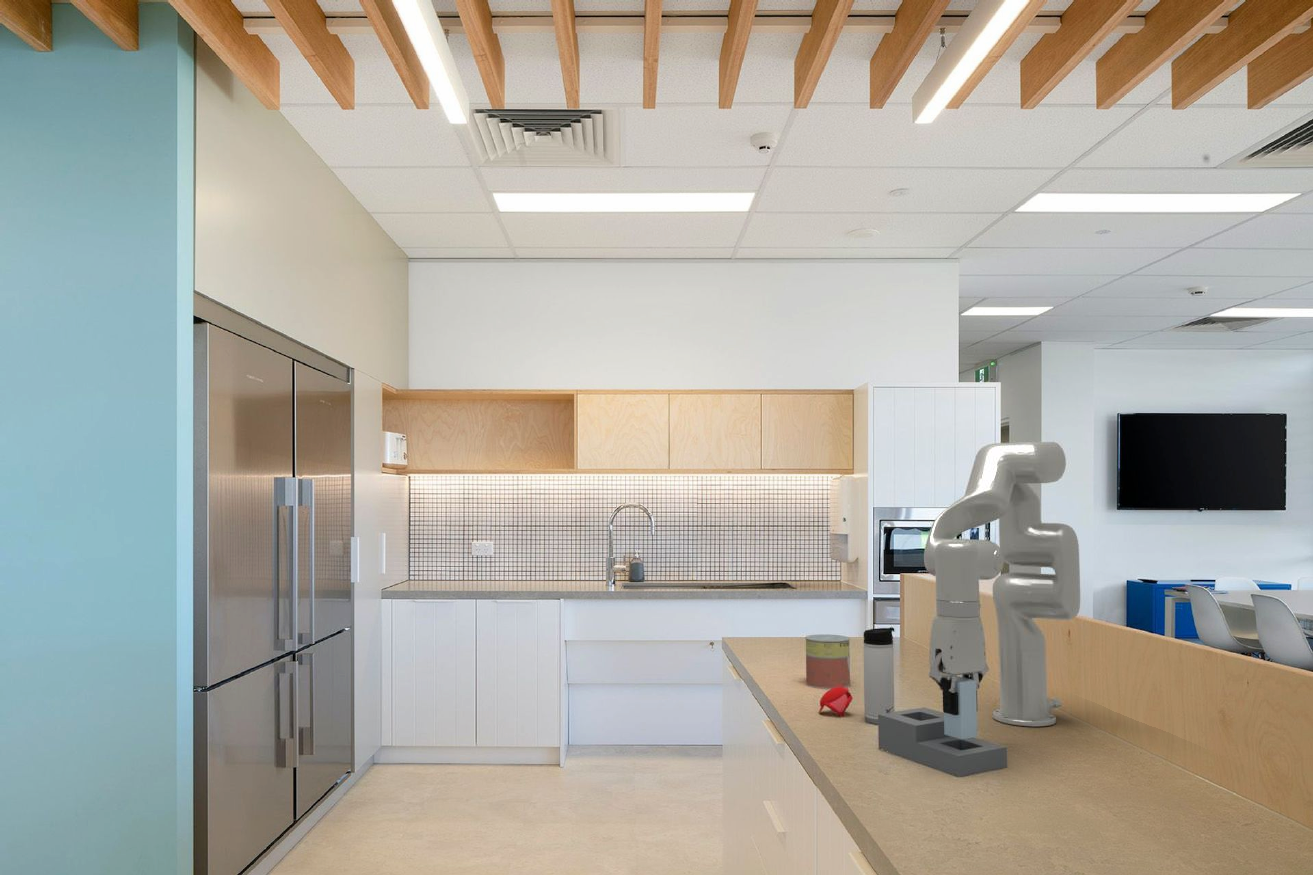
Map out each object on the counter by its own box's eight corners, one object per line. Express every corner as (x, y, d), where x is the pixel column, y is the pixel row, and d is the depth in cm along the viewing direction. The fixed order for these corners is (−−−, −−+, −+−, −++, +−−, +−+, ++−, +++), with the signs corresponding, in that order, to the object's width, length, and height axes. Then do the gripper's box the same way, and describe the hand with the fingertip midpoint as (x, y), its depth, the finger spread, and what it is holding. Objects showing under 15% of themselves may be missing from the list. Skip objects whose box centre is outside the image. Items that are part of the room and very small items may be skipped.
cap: (854, 696, 204) (831, 681, 206) (857, 692, 199) (833, 677, 200) (836, 726, 202) (813, 711, 204) (838, 724, 196) (815, 707, 198)
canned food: (854, 689, 227) (853, 641, 228) (809, 689, 227) (809, 641, 228) (845, 680, 238) (845, 634, 239) (803, 680, 238) (802, 634, 239)
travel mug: (897, 725, 190) (895, 629, 192) (865, 724, 192) (863, 629, 193) (895, 718, 196) (893, 625, 198) (864, 717, 198) (862, 625, 199)
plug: (957, 730, 166) (956, 675, 167) (977, 736, 162) (976, 680, 163) (941, 733, 164) (940, 677, 165) (961, 739, 160) (960, 682, 161)
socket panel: (924, 740, 179) (924, 707, 179) (1007, 766, 161) (1006, 729, 161) (878, 748, 173) (878, 714, 173) (958, 776, 155) (957, 738, 156)
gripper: (974, 605, 172) (976, 703, 170) (908, 610, 164) (910, 713, 163) (1006, 609, 165) (1009, 711, 164) (939, 614, 157) (942, 722, 156)
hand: (960, 711), depth 163 cm, fingers closed on plug, 4 cm apart
